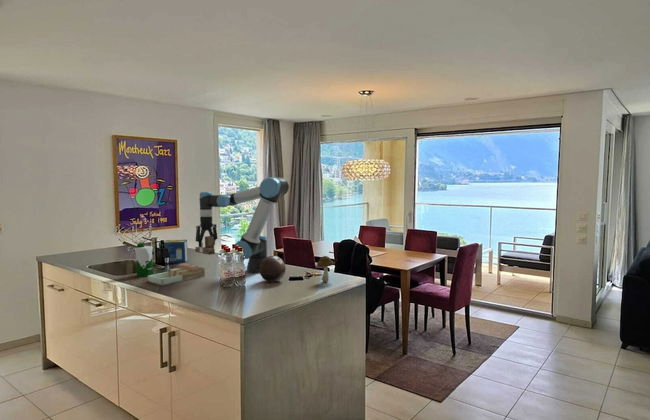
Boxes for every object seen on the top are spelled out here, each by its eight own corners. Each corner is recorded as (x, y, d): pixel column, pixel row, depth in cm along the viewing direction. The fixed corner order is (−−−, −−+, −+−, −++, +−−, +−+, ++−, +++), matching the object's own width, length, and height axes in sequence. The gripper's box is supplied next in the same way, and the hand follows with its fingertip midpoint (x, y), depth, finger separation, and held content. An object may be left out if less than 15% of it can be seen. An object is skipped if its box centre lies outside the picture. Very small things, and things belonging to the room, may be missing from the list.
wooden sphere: (281, 285, 232) (280, 258, 231) (256, 284, 235) (255, 258, 234) (288, 278, 247) (288, 253, 246) (264, 278, 250) (263, 253, 249)
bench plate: (204, 275, 258) (204, 268, 258) (182, 280, 246) (181, 272, 246) (191, 272, 268) (190, 265, 268) (168, 277, 256) (168, 269, 256)
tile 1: (198, 269, 255) (198, 265, 255) (191, 270, 251) (191, 267, 251) (194, 268, 258) (194, 265, 257) (187, 269, 254) (187, 266, 254)
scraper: (219, 253, 266) (218, 237, 265) (209, 254, 260) (208, 238, 259) (205, 250, 276) (204, 235, 276) (195, 251, 271) (194, 236, 270)
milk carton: (143, 273, 268) (141, 242, 267) (155, 273, 267) (154, 242, 265) (134, 276, 260) (132, 244, 258) (147, 277, 258) (145, 245, 256)
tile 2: (193, 268, 258) (193, 264, 258) (187, 269, 255) (186, 266, 255) (189, 267, 261) (189, 264, 261) (183, 268, 258) (183, 265, 257)
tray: (182, 281, 246) (182, 275, 246) (161, 285, 236) (161, 279, 236) (168, 277, 256) (168, 271, 256) (147, 281, 247) (147, 275, 246)
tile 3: (188, 267, 261) (188, 263, 261) (182, 268, 258) (182, 265, 258) (185, 266, 264) (184, 263, 264) (178, 267, 261) (178, 264, 261)
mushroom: (338, 280, 240) (337, 255, 239) (326, 285, 231) (325, 258, 230) (325, 278, 246) (325, 253, 245) (313, 282, 237) (312, 256, 236)
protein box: (166, 260, 310) (165, 240, 308) (188, 260, 311) (187, 239, 310) (162, 263, 299) (161, 242, 298) (185, 262, 301) (184, 241, 300)
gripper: (216, 214, 276) (217, 248, 278) (188, 216, 261) (189, 252, 263) (222, 215, 271) (223, 250, 273) (195, 217, 256) (196, 254, 258)
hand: (207, 251), depth 268 cm, fingers closed on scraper, 7 cm apart
